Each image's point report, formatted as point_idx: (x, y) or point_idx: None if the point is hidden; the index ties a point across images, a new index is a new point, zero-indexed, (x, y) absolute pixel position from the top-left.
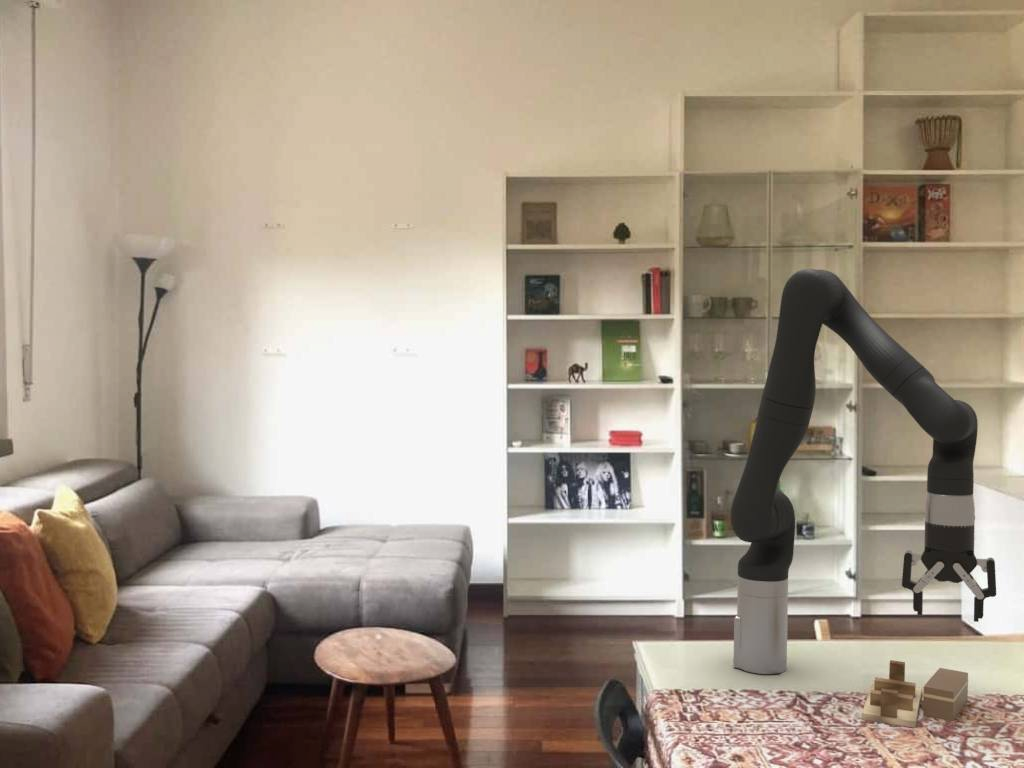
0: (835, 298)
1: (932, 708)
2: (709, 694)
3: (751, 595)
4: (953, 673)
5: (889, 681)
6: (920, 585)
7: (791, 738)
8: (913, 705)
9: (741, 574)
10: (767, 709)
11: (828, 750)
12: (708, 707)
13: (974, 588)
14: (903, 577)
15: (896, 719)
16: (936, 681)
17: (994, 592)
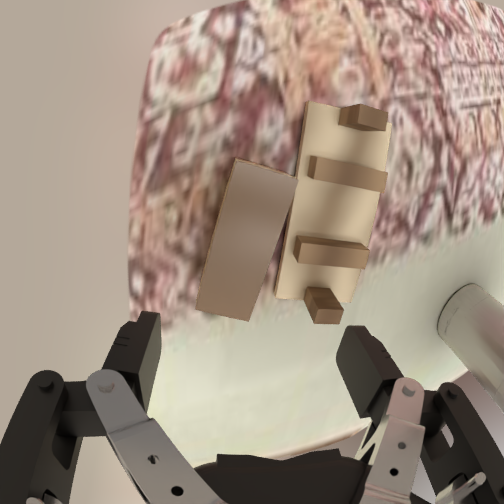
0: None
1: (273, 169)
2: None
3: None
4: (224, 294)
5: (345, 253)
6: (407, 405)
7: (456, 48)
8: (304, 190)
9: None
10: (482, 148)
11: (417, 11)
12: None
13: (123, 419)
14: (472, 412)
15: (340, 108)
16: (266, 226)
17: (34, 384)
